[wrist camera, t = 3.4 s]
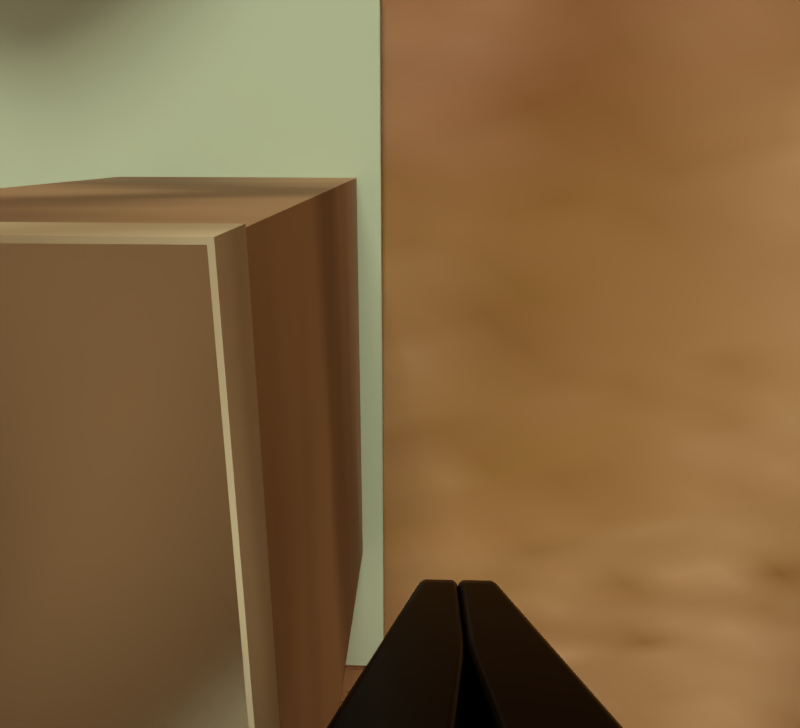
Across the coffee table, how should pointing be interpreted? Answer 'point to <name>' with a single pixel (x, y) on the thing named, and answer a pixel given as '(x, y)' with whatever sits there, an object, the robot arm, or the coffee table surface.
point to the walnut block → (178, 451)
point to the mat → (215, 138)
